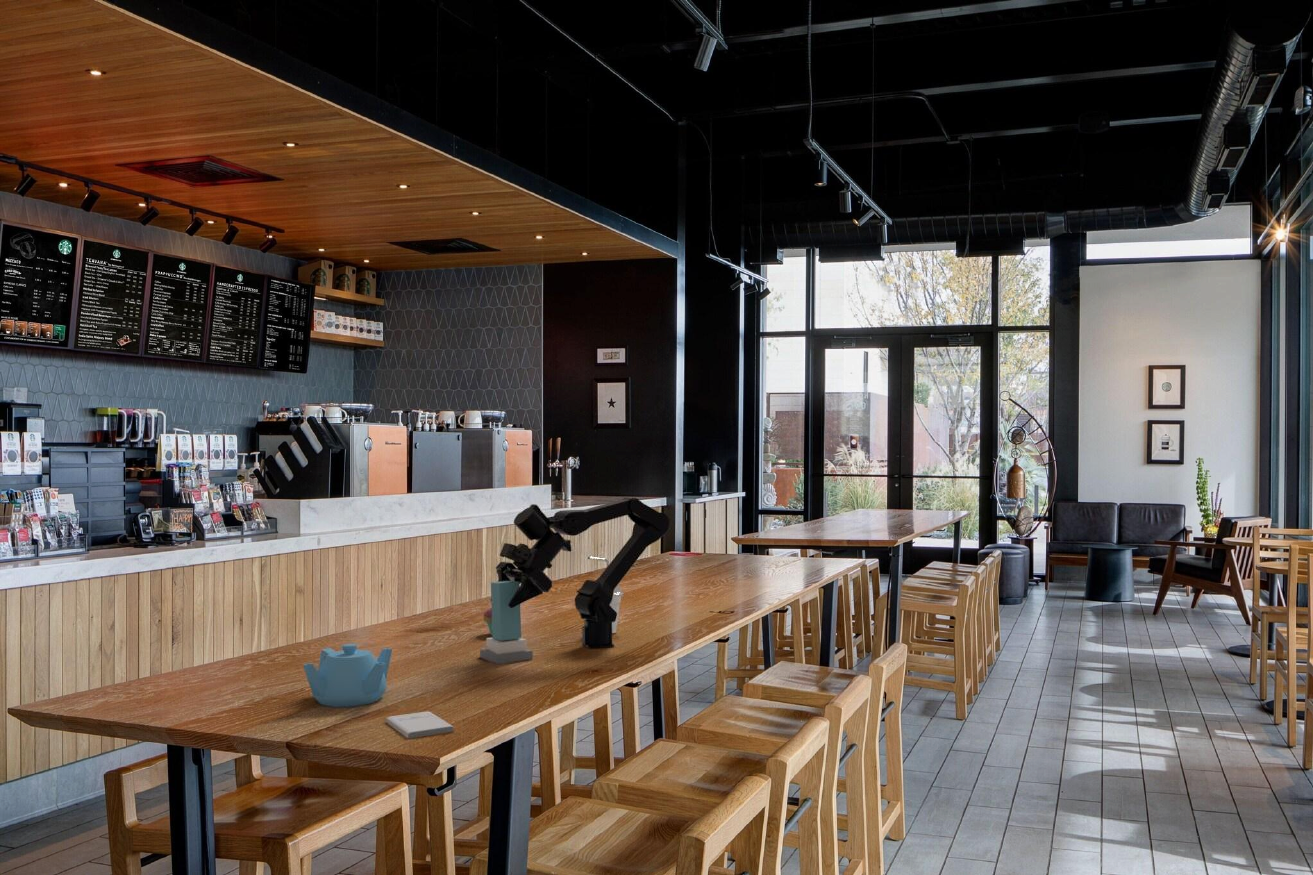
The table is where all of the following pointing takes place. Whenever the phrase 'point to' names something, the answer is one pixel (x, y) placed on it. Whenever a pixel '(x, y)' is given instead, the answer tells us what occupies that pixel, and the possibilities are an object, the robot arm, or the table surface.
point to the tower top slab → (506, 645)
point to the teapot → (348, 676)
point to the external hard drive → (419, 724)
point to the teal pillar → (505, 611)
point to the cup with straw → (616, 596)
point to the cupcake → (488, 619)
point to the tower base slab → (506, 656)
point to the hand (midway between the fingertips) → (500, 604)
